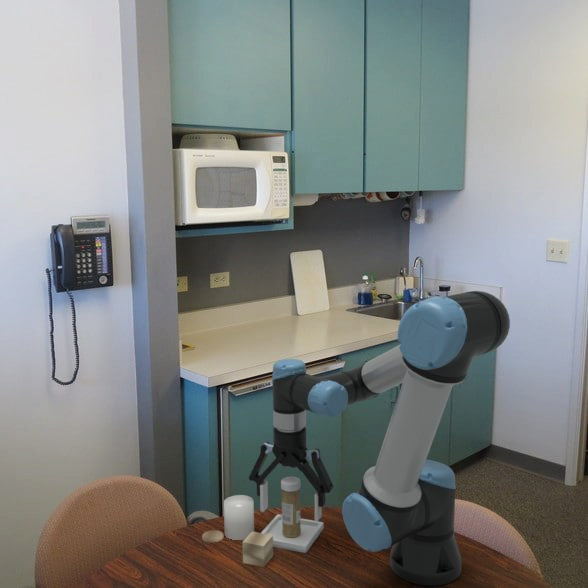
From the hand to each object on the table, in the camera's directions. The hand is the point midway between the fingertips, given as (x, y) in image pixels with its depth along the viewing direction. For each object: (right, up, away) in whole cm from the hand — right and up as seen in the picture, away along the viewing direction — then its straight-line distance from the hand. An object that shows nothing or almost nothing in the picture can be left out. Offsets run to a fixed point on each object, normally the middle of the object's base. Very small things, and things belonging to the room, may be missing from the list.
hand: (290, 514), depth 162 cm
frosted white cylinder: (-12, -5, +2) cm, 14 cm away
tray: (0, -5, +1) cm, 5 cm away
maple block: (-7, -7, -9) cm, 14 cm away
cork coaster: (-18, -6, +1) cm, 19 cm away
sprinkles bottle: (0, -5, +1) cm, 5 cm away
